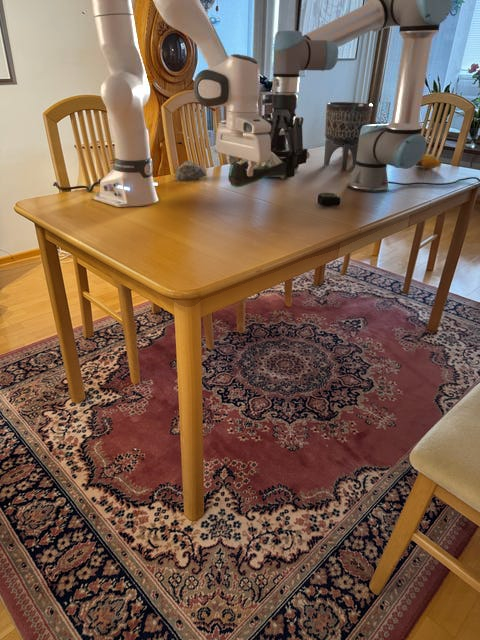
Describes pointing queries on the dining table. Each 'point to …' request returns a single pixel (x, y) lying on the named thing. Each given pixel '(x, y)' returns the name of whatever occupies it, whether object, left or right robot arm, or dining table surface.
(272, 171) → the ballet flat
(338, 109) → the planter
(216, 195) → the dining table surface
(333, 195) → the tape measure
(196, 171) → the rock
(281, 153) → the mechanical component
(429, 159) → the toy
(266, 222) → the dining table surface
